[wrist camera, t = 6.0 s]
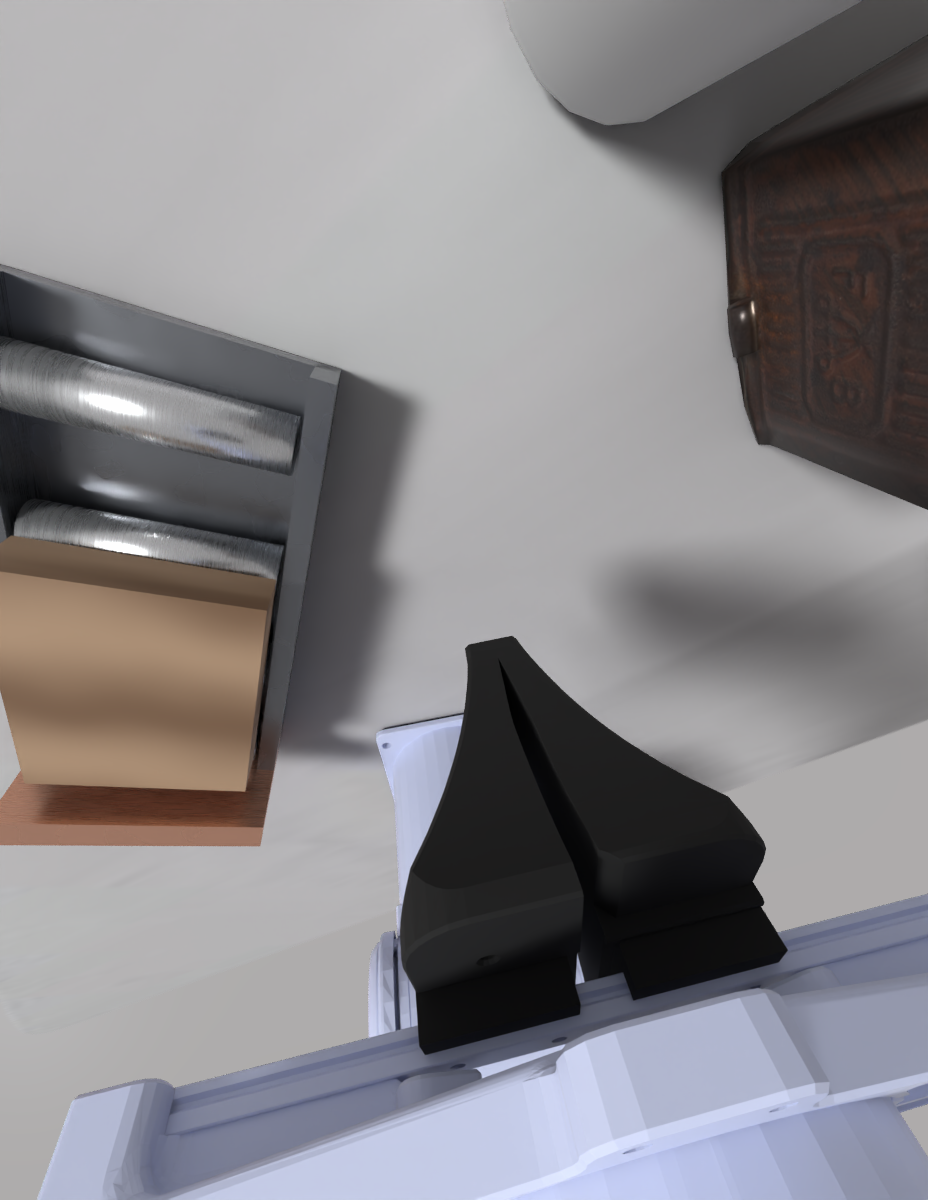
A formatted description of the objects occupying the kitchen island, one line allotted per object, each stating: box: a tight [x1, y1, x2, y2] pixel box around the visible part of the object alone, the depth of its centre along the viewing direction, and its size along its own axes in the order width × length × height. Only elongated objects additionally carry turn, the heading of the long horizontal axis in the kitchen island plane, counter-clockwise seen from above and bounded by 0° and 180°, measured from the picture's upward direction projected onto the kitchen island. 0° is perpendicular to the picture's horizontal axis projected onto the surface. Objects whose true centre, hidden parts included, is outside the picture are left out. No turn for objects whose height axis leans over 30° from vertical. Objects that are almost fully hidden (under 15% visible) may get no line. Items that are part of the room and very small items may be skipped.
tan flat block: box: [0, 535, 276, 792], centre depth 18 cm, size 10×8×2 cm
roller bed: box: [0, 264, 341, 846], centre depth 18 cm, size 20×10×6 cm, turn 162°
